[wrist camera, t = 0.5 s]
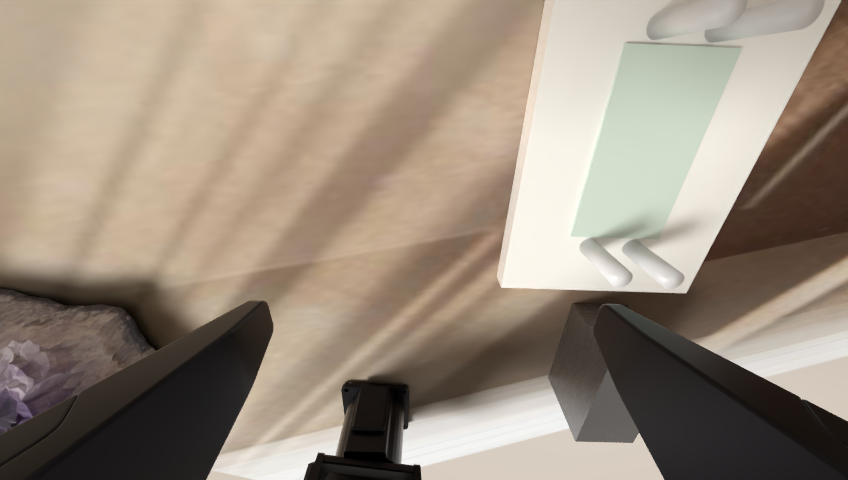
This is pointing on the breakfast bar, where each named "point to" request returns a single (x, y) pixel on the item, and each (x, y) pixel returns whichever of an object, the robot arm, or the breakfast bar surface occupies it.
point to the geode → (58, 352)
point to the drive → (588, 383)
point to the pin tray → (646, 134)
